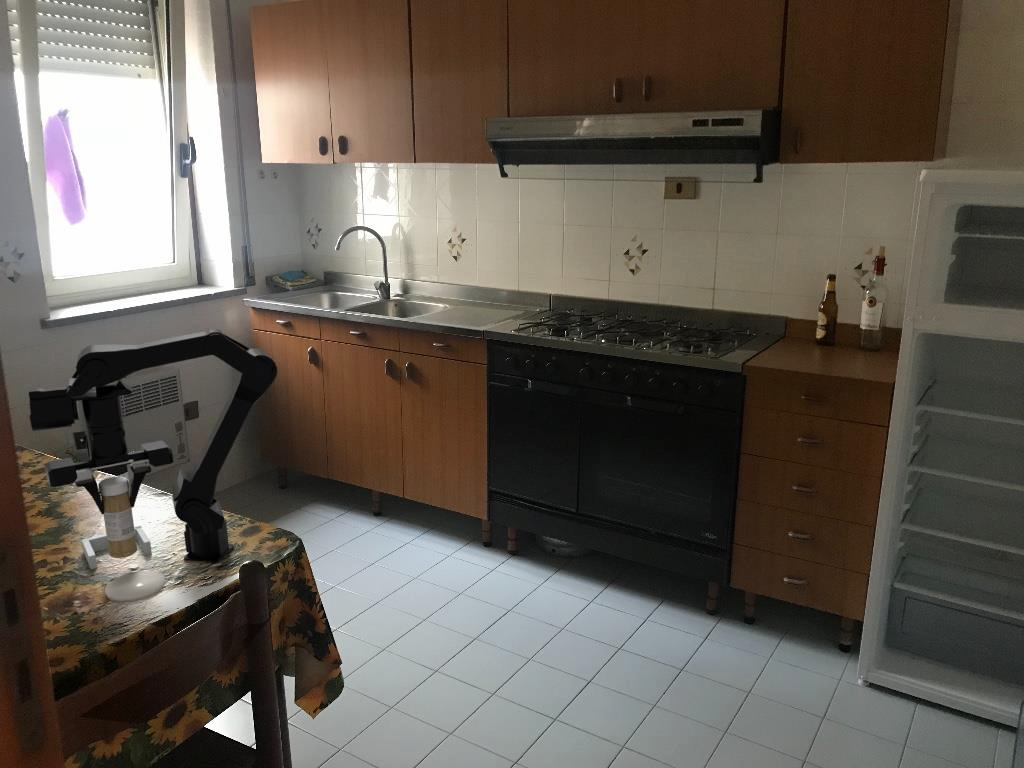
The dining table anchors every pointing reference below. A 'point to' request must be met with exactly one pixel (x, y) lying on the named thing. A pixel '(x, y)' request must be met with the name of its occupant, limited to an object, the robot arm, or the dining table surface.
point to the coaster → (135, 586)
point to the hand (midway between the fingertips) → (117, 510)
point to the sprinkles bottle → (118, 516)
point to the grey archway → (102, 543)
